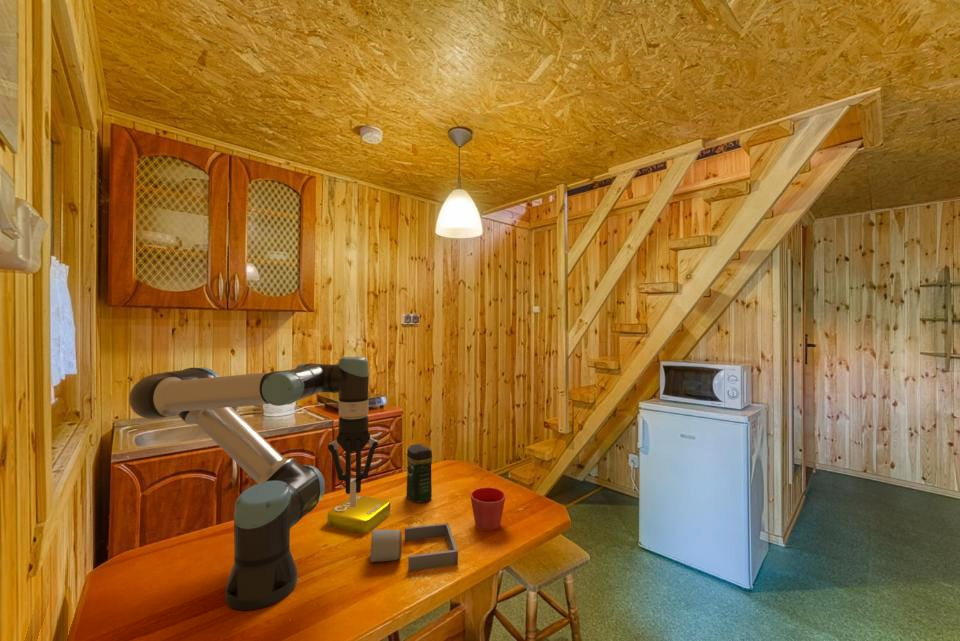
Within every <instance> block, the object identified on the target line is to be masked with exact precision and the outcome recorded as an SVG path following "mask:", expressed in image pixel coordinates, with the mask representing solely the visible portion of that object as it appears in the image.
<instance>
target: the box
mask: <svg viewBox="0 0 960 641" xmlns="http://www.w3.org/2000/svg"><path fill="white" fill-rule="evenodd" d="M444 537H446V541H447V544H448V548H449V550H446V551H445V550H443V551H436V552H428V553H422V554H412V555H411V554H410V555H407V556H408V558H407V559H408V562H407V563H408V564H407V567H408V572H413V571H420V570H428V569H435V568H442V567H443V568H444V567H450V566H458V565H459V560H458V559H459V551H458V547H457V545H456V541H455V539H454V535H453V532H452V530H451V527H450V523H448V522H445V523H437V524H428V525H419V526H409V527H404V541H405V542H411V541H417V540H429V539H436V538H444Z"/></svg>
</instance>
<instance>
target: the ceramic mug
mask: <svg viewBox="0 0 960 641" xmlns="http://www.w3.org/2000/svg"><path fill="white" fill-rule="evenodd" d="M370 539H371V542H370V555H369V556H370V557H369V558H370V559H369V561H370V563H377V562H389V561H391V562H392V561H397V560H400V559H401V558H402V551H403V550H402V549H403V531H402V530H399V529H372V530H371V538H370Z"/></svg>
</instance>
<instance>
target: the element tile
mask: <svg viewBox="0 0 960 641" xmlns="http://www.w3.org/2000/svg"><path fill="white" fill-rule="evenodd" d="M390 515H391V501H390V500H386V499H381V498H377V497H371V496H367V495H362V494H356V507H350V497H348V498H347V499H345V500H343V501H342V502H341V503H339V504H337V505H336V506H334V507H332V508H331V509H329V510H328V511H327V516H326V519H327V523H326V525H327V526H328V527H330V528H334V529H339V530H342V531H347V532H351V533H355V534H360V535H361V534H363V535H364V534H367V533H369V532H371V531H373V530H374V528H376V527H377V526H378V525H379V524H380V523H382V522H383V521H385V519H387V518H388V517H389V516H390ZM381 521H382V522H381ZM370 530H371V531H370Z"/></svg>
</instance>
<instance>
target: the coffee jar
mask: <svg viewBox="0 0 960 641" xmlns="http://www.w3.org/2000/svg"><path fill="white" fill-rule="evenodd" d="M406 460H407V468H406V469H407V470H406V471H407V472H406V474H407V475H406V476H407V477H406V496H407V498H408V500H409V501H411V502H413V503H425V502H427V501H429V500H431V499H432V486H433V485H432V461H433V451H432V449H430V448H429V447H427V446H425V445H423V444H421V443H417V444H411V445H409V446H408V447H407V452H406Z"/></svg>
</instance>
